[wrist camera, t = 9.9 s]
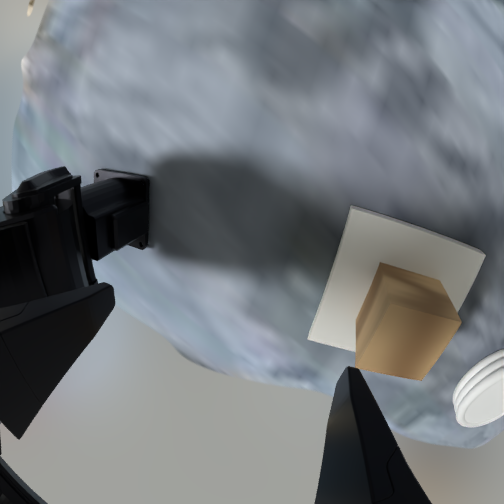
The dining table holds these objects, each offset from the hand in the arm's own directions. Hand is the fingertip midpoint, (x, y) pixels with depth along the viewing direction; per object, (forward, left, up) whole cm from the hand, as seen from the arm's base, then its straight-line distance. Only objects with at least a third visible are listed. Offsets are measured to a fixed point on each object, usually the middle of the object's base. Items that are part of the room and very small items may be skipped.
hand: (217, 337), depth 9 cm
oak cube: (+9, -3, -11) cm, 15 cm away
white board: (+10, -3, -12) cm, 15 cm away
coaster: (+27, -10, -12) cm, 31 cm away
